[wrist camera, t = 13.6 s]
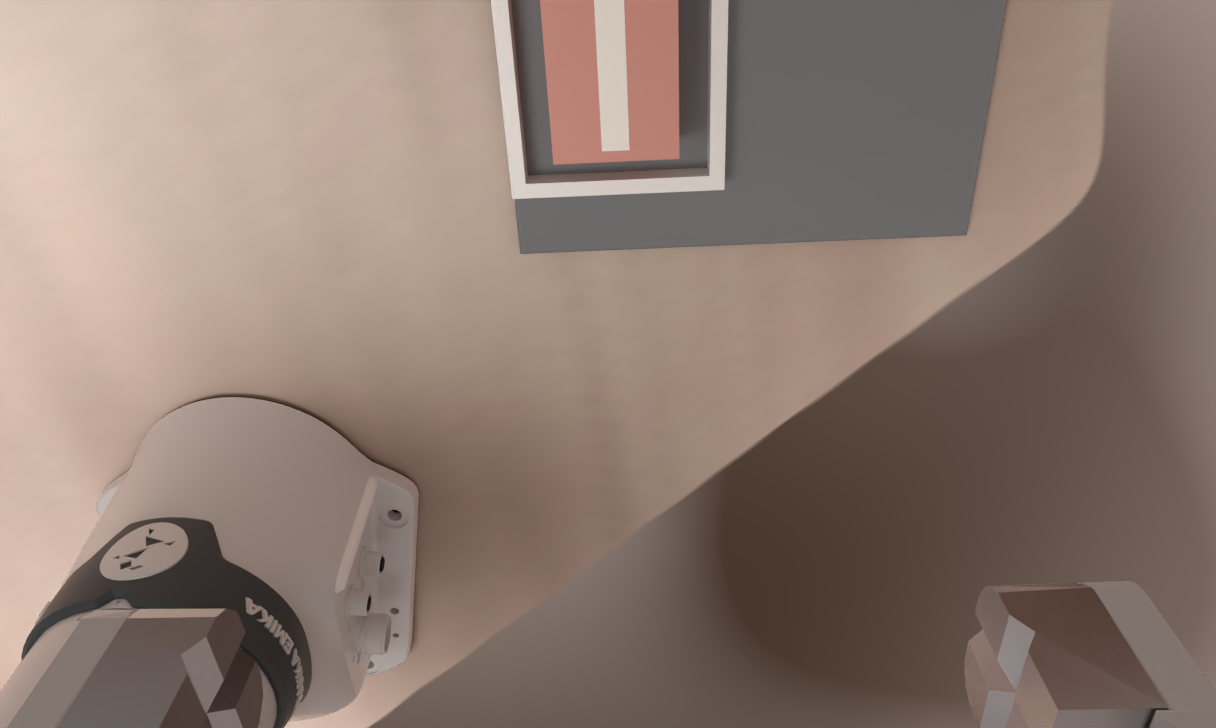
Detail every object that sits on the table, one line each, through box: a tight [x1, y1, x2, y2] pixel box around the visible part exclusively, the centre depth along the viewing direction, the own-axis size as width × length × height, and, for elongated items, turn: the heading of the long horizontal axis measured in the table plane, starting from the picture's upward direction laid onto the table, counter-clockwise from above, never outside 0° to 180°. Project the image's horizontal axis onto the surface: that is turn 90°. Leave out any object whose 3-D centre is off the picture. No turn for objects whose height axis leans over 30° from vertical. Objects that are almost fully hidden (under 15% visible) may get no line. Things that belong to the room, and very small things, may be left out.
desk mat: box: [511, 0, 1007, 254], centre depth 39 cm, size 20×22×1 cm
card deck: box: [540, 0, 679, 165], centre depth 37 cm, size 9×6×3 cm, turn 3°
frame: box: [491, 0, 728, 199], centre depth 38 cm, size 13×10×1 cm
